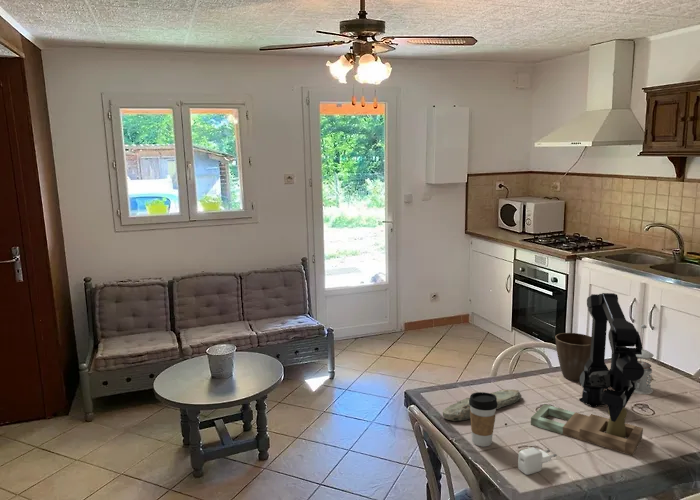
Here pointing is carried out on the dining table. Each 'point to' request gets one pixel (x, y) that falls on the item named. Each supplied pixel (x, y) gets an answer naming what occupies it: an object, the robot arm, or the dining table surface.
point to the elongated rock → (463, 408)
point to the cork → (617, 425)
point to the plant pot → (573, 354)
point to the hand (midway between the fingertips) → (617, 415)
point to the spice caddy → (587, 429)
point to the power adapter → (533, 460)
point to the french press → (642, 382)
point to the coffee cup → (482, 417)
